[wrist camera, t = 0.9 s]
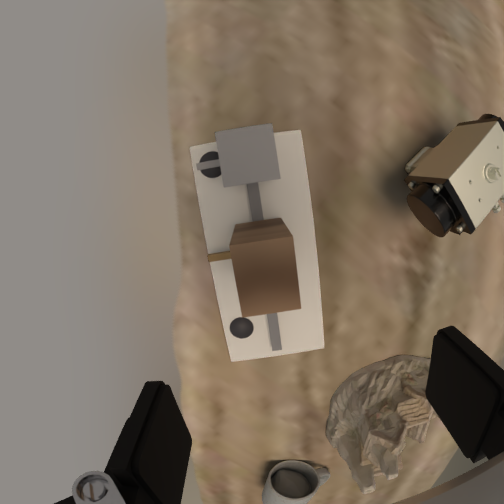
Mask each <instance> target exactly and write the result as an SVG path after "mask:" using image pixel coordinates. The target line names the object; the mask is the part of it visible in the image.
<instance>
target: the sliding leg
mask: <svg viewBox="0 0 504 504" xmlns="http://www.w3.org/2000/svg"><path fill="white" fill-rule="evenodd" d="M229 248H230V251H224V252H217V253H211V254H208V255H207V256H208V261H209V262H213V261H220V260H227V259H232V265H233V270H234V276H235V281H236V287H237V292H238V298H239V303H240V308H241V314H242V318H243V317H251V316H258V315H265V314H271V313H278V312H285V311H291V310H297V309H301V301H300V291H299V282H298V273H297V265H296V256H295V248H294V240H293V235H292V234H291V232H290V231H289V229H288V228H287V226H286V225H285V223H284V222H283V220H282V219H281V218H274V219H267V220H260V221H254V222H247V223H241V224H235V227H234V231H233V234H232V238H231V241H230V244H229Z"/></svg>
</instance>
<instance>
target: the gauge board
mask: <svg viewBox="0 0 504 504" xmlns="http://www.w3.org/2000/svg"><path fill="white" fill-rule="evenodd" d="M215 137H216V142H212V143H206V144H201V145H196V146H191V147H190V153H191V160H192V166H193V172H194V178H195V184H196V190H197V195H198V201H199V207H200V212H201V218H202V223H203V229H204V234H205V239H206V245H207V250H208V254H211V253H217V252H224V251H230V248H229V244H230V241H231V238H232V234H233V231H234V227H235V224H241V223H247V222H254V221H260V220H267V219H274V218H281V219H282V220H283V222H284V223H285V225H286V226H287V228H288V229H289V231H290V232H291V234H292V235H293V240H294V248H295V256H296V265H297V273H298V282H299V291H300V301H301V309H297V310H291V311H285V312H278V313H271V314H265V315H258V316H251V317H243V318H242V314H241V308H240V303H239V298H238V292H237V287H236V281H235V276H234V270H233V265H232V259H227V260H220V261H213V262H210V265H211V270H212V275H213V280H214V285H215V290H216V295H217V299H218V304H219V309H220V313H221V318H222V323H223V327H224V332H225V336H226V341H227V345H228V349H229V354H230V358H231V362H232V361H241V360H249V359H257V358H265V357H272V356H279V355H286V354H292V353H298V352H304V351H310V350H316V349H321V348H324V334H323V318H322V304H321V291H320V280H319V268H318V258H317V248H316V239H315V229H314V221H313V212H312V204H311V196H310V189H309V181H308V174H307V167H306V160H305V154H304V147H303V141H302V135H301V130H293V131H285V132H276V133H274V132H273V126H272V123H270V124H262V125H255V126H248V127H241V128H235V129H229V130H223V131H218V132H215Z"/></svg>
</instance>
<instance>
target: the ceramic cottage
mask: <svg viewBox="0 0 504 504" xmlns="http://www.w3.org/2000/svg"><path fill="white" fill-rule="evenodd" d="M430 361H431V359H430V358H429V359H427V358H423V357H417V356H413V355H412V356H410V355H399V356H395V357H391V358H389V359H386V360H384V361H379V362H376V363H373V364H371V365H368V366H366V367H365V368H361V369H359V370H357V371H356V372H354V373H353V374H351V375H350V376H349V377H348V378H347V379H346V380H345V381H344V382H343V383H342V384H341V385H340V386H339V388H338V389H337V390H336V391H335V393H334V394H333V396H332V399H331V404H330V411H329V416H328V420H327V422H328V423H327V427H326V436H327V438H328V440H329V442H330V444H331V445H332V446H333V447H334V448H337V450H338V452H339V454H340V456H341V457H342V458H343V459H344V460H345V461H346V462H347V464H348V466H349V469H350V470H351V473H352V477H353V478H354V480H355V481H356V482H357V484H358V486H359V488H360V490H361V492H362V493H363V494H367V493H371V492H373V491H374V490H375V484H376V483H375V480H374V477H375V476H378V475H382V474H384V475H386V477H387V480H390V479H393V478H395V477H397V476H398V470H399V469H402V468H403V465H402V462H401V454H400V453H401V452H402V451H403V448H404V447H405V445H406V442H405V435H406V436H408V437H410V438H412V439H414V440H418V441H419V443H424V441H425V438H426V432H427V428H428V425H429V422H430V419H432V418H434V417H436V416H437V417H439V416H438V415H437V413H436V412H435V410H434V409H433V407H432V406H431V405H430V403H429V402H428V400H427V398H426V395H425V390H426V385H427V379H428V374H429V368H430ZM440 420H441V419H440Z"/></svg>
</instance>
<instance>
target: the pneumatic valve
mask: <svg viewBox="0 0 504 504" xmlns="http://www.w3.org/2000/svg"><path fill="white" fill-rule="evenodd" d="M405 167H406V168H405V171H406V172H407V173H410V174H409V176H408V177H407V178H406V179H405V180H404V181H405V182H406V184H407V185H408V187H409V188H410V189H411V191H412V192H411V193H410V194H409V195H408V196H407V202H408V205H409V207H410V209H411V211H412V212H413V214H414V215H415V216H416V218H417V219H418V220H419V221H420V222H421V224H422V225H423V226H424V227H425V228H427V229H428V230H429V231H430V232H431V233H433V234H434V235H436V236H438V237H444V236H445V235H446V234H447V233H448V232H449V231H451V232H454V233H456V234H459V235H460V234H461V233H462V232H466V233H469V234H472V233H473V232H474V230H475V229H476V228H477V227H478V226H479V224H480V223H481V222H482V221H483V220H484V218H485V217H486V216H487V215H488V213H489V212H490V211H491V210H493V212H494V213H498V212H499V211H500V210H501V208H500V206H499V203H498V200H499V199H500V200H501V202H503V203H504V121H502V119H501V118H500V117H497V116H495V115H492V114H484V115H482V116H481V117H480V118H479V119H478V120H476V121H469V122H462V123H459V124H458V125H457V126H456V127H455V128H454V129H453V130H452V131H451V132H450V133H449V134H448V135H447V136H446V137H445V139H444V140H443V141H442V142H441V143H440V144H439V145H438V146H436V147H435V148H430V147H428V146H427V147H423V148H422V149H421V150H420V151H419V152H418V153H417V154H416V155H415V156H414V157H413V158H412V159H411V160H410V161H409V162H408V163H407V164H406V165H405Z"/></svg>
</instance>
